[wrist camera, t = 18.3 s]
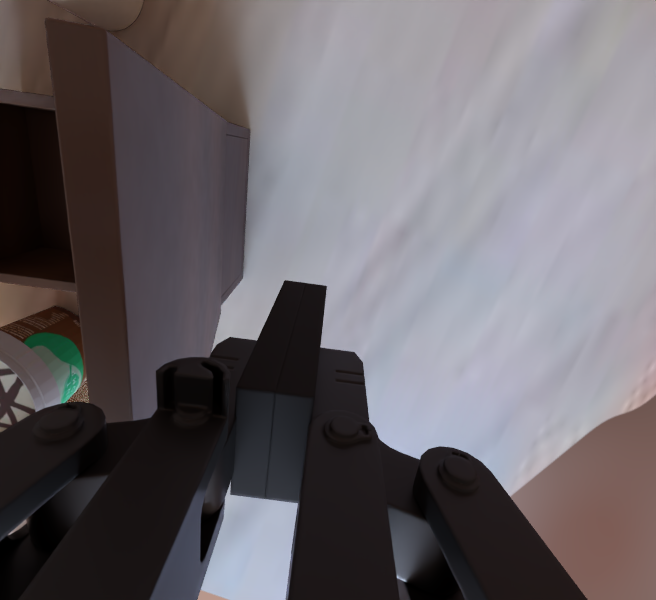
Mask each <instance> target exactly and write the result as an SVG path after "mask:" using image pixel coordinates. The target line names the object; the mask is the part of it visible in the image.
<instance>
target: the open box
mask: <svg viewBox="0 0 656 600" xmlns="http://www.w3.org/2000/svg"><path fill="white" fill-rule="evenodd" d="M249 147H250V129H247V128H244V127H241V126H238V125H235V124H232V123H229V122H227V126H226V158H225V190H224V222H223V254H222V286H221V305H222V304H223V303H224V301H225V300H226V299H227V298H228V296H229V295H230V294H231V293H232V291H233V290H234V289H235V288H236V286H237V285H238V284H239V283H240V281H241V280H242V279H243V262H244V243H245V224H246V204H247V185H248V166H249ZM0 282H3V283H10V284H18V285H26V286H33V287H41V288H48V289H56V290H63V291H71V292H76V284H75V275H74V267H73V258H72V250H71V241H70V233H69V224H68V216H67V207H66V199H65V190H64V181H63V173H62V164H61V156H60V147H59V139H58V130H57V122H56V113H55V105H54V96H49V95H42V94H35V93H28V92H21V91H14V90H7V89H0Z"/></svg>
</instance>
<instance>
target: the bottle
mask: <svg viewBox="0 0 656 600" xmlns="http://www.w3.org/2000/svg"><path fill="white" fill-rule="evenodd" d="M48 1H49V2H51V3H53V4H55V5H57V6H59V7H61V8H62V9H64V10H66V11H68V12H70V13H72V14H73V15H75V16H77V17H79V18H81V19H83V20H85V21H86V22H88V23H90V24H92V25H94V26H96V27H101V28H104V29H105V30H107V31H118V30H122V29H124V28H126V27H128V26H129V25H131V24H132V23H133V22H134V21H135V20H136V18H137V17H138V15H139V13H140V11H141V9H142V5H143V0H48Z"/></svg>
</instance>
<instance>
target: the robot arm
mask: <svg viewBox="0 0 656 600" xmlns="http://www.w3.org/2000/svg"><path fill="white" fill-rule="evenodd" d="M326 289H327V286H323V285H316V284H308V283H301V282H293V281H286V280H285V281H284V283H283V285H282V288H281V290H280V292H279V294H278V296H277V298H276V301H275V303H274V305H273V307H272V309H271V312H270V314H269V316H268V318H267V320H266V322H265V325H264V327H263V329H262V331H261V333H260V336H259V338H258V340H257V341H256V340H248V339H241V338H233V337H229V338H228V339H226V340H224V341H222V342H221V343H219V344H217V345H216V347H215V348H214V350H213V351H212V353H211V354H210V357H208V358H206V357H187V358H181V359H176V360H173V361H171V362H168V363H166V364H164V365H163V366H161V367H160V368H159V369H157V370H156V389H157V410H156V411H155V412H154V414H153V415H152V417H150V418H147V419H141V420H134V421H123V422H113V423H106V417H105V415H104V412H103V410H102V409H101V408H99V407H98V406H96V405H94V404H91V403H84V402H69V403H61V404H57V405H53V406H50V407H46V408H44V409H41V410H39V411H37V412H35V413H33V414H31V415H29V416H27V417H25V418H24V419H22V420H20V421H19V422H17V423H15V424H14V425H12V426H10V427H9V428H7V429H5V430H4V431H2V432H0V600H197V599H198V595H199V592H200V589H201V586H202V583H203V580H204V577H205V574H206V571H207V568H208V565H209V561H210V558H211V555H212V552H213V549H214V546H215V543H216V540H217V537H218V534H219V530H220V527H221V524H222V521H223V517H224V505H225V496H226V493H227V490H228V487H229V484H230V481H231V493H230V495H237V496H245V497H253V498H261V499H269V500H277V501H285V502H293V503H298V508H297V515H296V522H295V529H294V537H293V544H292V551H291V561H290V569H289V577H288V585H287V593H286V600H587V598H586V597H585V596H584V594H583V593H582V592H581V591H580V589H579V588H578V586H577V585H576V584H575V583H574V581H573V580H572V579H571V577H570V576H569V575H568V573H567V572H566V570H565V569H564V568H563V567H562V565H561V564H560V563H559V561H558V560H557V559H556V557H555V556H554V555H553V553H552V552H551V551H550V549H549V548H548V547H547V545H546V544H545V543H544V541H543V540H542V539H541V537H540V536H539V535H538V533H537V532H536V531H535V529H534V528H533V527H532V526H531V524H530V523H529V521H528V520H527V519H526V517H525V516H524V515H523V513H522V512H521V511H520V510H519V508H518V507H517V506H516V504H515V503H514V502H513V500H512V499H511V498H510V496H509V495H508V494H507V492H506V491H505V490H504V488H503V487H502V486H501V484H500V483H499V482H498V480H497V479H496V478H495V476H494V475H493V474H492V472H491V471H490V470H489V469H488V468H487V467H486V466H485V465H484V464H483V463H482V462H481V461H479V460H478V459H476V458H474V457H473V456H471V455H470V454H468V453H466V452H463V451H461V450H458V449H455V448H450V447H435V448H431V449H428V450H427V451H426V452H425V453H424V454H423V455H421V459H420V460H419V459H416V458H414V457H411V456H408V455H406V454H403V453H400V452H398V451H396V450H394V449H392V448H390V447H389V446H387V445H386V444H384V443H383V442H382V441H381V440H380V439H379V438H378V435H377V432H376V430H375V427H374V426H373V425H372V424H371V423H370V422H369V415H368V406H367V397H366V387H365V378H364V369H363V362H362V361H361V360H360V359H359V357H358V356H357V355H356V354H355V352H349V351H341V350H334V349H326V348H320V344H321V335H322V326H323V317H324V307H325V298H326ZM25 520H26V521H27V523H26V524H25V525H24V526H23V527H21V528H20V529H18V530H17V531H15V532H14V533H12V534H10V535H8V534H9V533H10V532H12V531H13V530H14V529H15V528H16V527H18V526H19V525H20V524H21V523H22V522H23V521H25Z"/></svg>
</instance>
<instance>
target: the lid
mask: <svg viewBox="0 0 656 600" xmlns="http://www.w3.org/2000/svg"><path fill="white" fill-rule="evenodd" d="M45 28H46V36H47V45H48V53H49V62H50V70H51V79H52V87H53V96H54V105H55V113H56V122H57V130H58V139H59V147H60V156H61V164H62V173H63V181H64V190H65V199H66V207H67V216H68V224H69V233H70V241H71V250H72V258H73V267H74V275H75V284H76V293H77V301H78V310H79V318H80V327H81V335H82V344H83V352H84V361H85V369H86V378H87V387H88V395H89V403H91V404H94V405H96V406H98V407H99V408H101V409H102V410H103V412H104V415H105V417H106V423H113V422H123V421H134V420H141V419H147V418H150V417H152V415H153V414H154V412H155V411H156V410H157V389H156V370H157V369H159V368H160V367H161V366H163V365H164V364H166V363H168V362H171V361H173V360H176V359H181V358H187V357H206V358H208V357H210V354H211V351H212V347H213V343H214V339H215V334H216V330H217V326H218V322H219V318H220V314H221V286H222V254H223V222H224V190H225V158H226V126H227V121H226V120H225V119H223V118H222V117H221V116H219V115H218V114H217V113H215V112H214V111H213V110H211V109H210V108H209V107H207V106H206V105H205V104H204V103H202V102H201V101H200V100H198V99H197V98H196V97H194V96H193V95H192V94H190V93H189V92H188V91H186V90H185V89H184V88H182V87H181V86H180V85H178V84H177V83H176V82H174V81H173V80H172V79H170V78H169V77H168V76H166V75H165V74H164V73H162V72H161V71H160V70H158V69H157V68H156V67H155V66H153V65H152V64H151V63H149V62H148V61H147V60H145V59H144V58H143V57H141V56H140V55H139V54H137V53H136V52H135V51H133V50H132V49H131V48H129V47H128V46H127V45H125V44H124V43H123V42H121V41H120V40H119V39H117V38H116V37H115V36H113V35H112V34H111V33H109V32H108V31H107V30H105V29H104V28H101V27H96V26H91V25H86V24H80V23H75V22H70V21H64V20H59V19H54V18H45Z"/></svg>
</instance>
